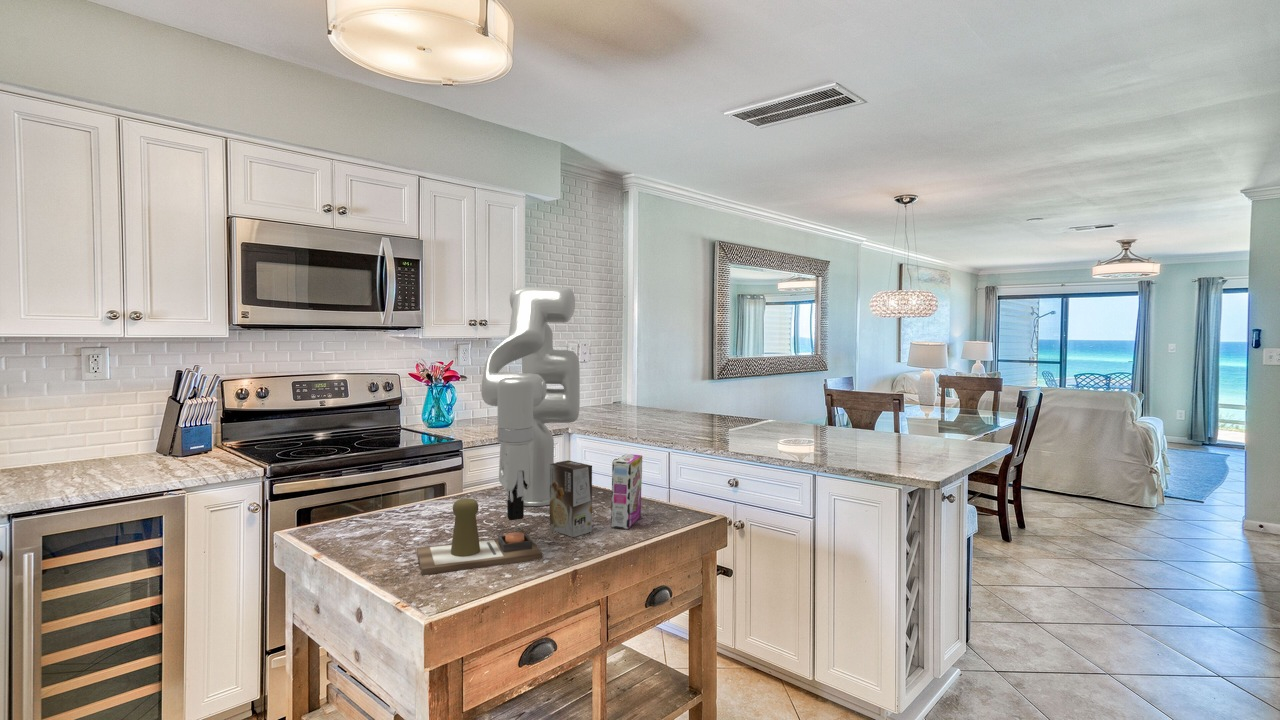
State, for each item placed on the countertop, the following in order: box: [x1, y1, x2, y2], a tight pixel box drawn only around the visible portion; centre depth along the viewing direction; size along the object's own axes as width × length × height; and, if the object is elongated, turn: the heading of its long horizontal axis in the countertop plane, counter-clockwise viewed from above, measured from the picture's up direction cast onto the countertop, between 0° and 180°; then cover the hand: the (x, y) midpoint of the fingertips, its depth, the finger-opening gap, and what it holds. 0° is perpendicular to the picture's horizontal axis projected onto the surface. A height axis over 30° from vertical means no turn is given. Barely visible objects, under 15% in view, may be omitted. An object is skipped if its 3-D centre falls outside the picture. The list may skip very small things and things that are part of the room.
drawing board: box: [416, 532, 544, 576], centre depth 133 cm, size 13×24×3 cm, turn 114°
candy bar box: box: [610, 453, 643, 530], centre depth 157 cm, size 11×5×16 cm, turn 164°
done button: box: [504, 531, 524, 544], centre depth 136 cm, size 4×4×2 cm
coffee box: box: [549, 460, 593, 538], centre depth 150 cm, size 9×6×16 cm
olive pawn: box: [451, 497, 480, 557], centre depth 132 cm, size 6×6×11 cm
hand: (515, 518), depth 136 cm, fingers closed
